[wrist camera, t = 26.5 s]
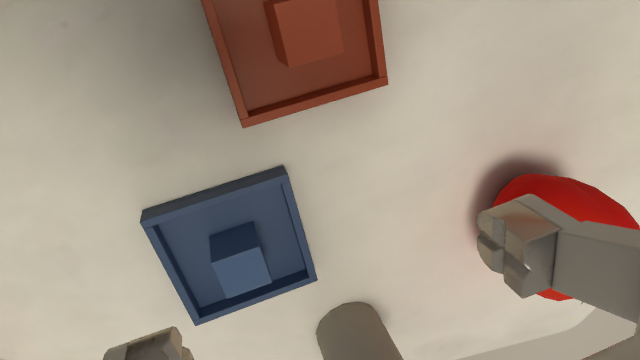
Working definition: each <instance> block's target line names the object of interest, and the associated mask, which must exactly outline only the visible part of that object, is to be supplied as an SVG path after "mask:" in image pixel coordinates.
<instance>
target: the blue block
mask: <svg viewBox="0 0 640 360" xmlns="http://www.w3.org/2000/svg"><path fill="white" fill-rule="evenodd" d="M209 243H210V258H211V265H212V267H213V269H214V272H215V274H216V276H217V278H218V281H219V283H220V285H221V287H222V289H223V292H224V294H225V296H226V298H227V299H228V298H231V297H234V296H237V295H239V294H242V293H245V292H247V291H250V290H253V289H256V288H258V287H261V286H264V285H266V284H269V283H272V279H271V275H270V271H269V268H268V264H267V260H266V257H265V254H264V251H263V248H262V245H261V242H260V240H259V237H258V234H257V231H256V228H255V226H254V223H253V222H249V223H246V224H244V225H241V226H238V227H235V228H232V229H229V230H226V231H223V232H220V233H217V234H214V235H211V236H209Z"/></svg>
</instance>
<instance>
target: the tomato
mask: <svg viewBox="0 0 640 360" xmlns="http://www.w3.org/2000/svg"><path fill="white" fill-rule="evenodd" d="M526 194H533V195H536V196H537V197H539V198H541V199H542V200H544V201H546V202H547V203H549V204H551V205H552V206H554V207H556V208H557V209H559V210H561V211H562V212H564V213H566V214H568V215H569V216H571V217H573V218H574V219H576V220H578V221H579V222H583V221H591V222H597V223H602V224H608V225H613V226H618V227H624V228H629V229H635V230H640V227H639V225H638V223H637V222H636V221H635V220H634V218H633V217H632V216H631V215H630V213H629V212H628V211H627V210H626V209H625V207H624V206H622V205H621V204H619V203H618V202H616V201H615V200H613V199H612V198H610V197H609V196H607V195H606V194H604V193H603V192H601V191H600V190H598V189H597V188H595V187H593V186H590V185H587V184H585V183H582V182H579V181H577V180H574V179H572V178H566V177H558V176H550V175H542V174H524V175H522V176H519V177H517V178H514V179H513V180H512V181H511V182H510V183H508V184H507V185H506V186H505V187H504V188H503V189H502V190H501V191H500V193H499V195H498V196H497V198H496V200H495V202H494V204H493V206H492V208H493V207H496V206H498V205H501V204H504V203H506V202H509V201H511V200H513V199H516V198H518V197H521V196H523V195H526ZM536 294H538V295H540V296H542V297H544V298H548V299H552V300H556V301H562V300H567V299H573V298H572V297H570V296H567V295H565V294H562V293H560V292H557V291H555V290H552V288H549V289H547V290H544V291H541V292H539V293H536ZM582 303H583V302H582Z"/></svg>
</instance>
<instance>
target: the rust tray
mask: <svg viewBox="0 0 640 360" xmlns="http://www.w3.org/2000/svg"><path fill="white" fill-rule="evenodd" d="M267 1H271V0H201V3H202V6H203V9H204V12H205V15H206V18H207V21H208V24H209V27H210V30H211V33H212V36H213V39H214V42H215V45H216V49H217V52H218V55H219V58H220V61H221V64H222V67H223V70H224V73H225V76H226V79H227V82H228V85H229V88H230V91H231V94H232V97H233V100H234V104H235V107H236V110H237V113H238V116H239V119H240V122H241V125H242V127H243V128H246V127H249V126H253V125H256V124H259V123H263V122H266V121H269V120H273V119H276V118H279V117H283V116H286V115H289V114H292V113H296V112H299V111H302V110H306V109H309V108H312V107H316V106H319V105H322V104H326V103H329V102H332V101H336V100H339V99H342V98H346V97H349V96H352V95H355V94H359V93H362V92H365V91H369V90H372V89H375V88H379V87H382V86H385V85H388V77H387V70H386V62H385V54H384V46H383V38H382V30H381V22H380V14H379V6H378V0H336V6H337V12H338V17H339V23H340V29H341V35H342V41H343V46H344V53H341V54H338V55H334V56H330V57H327V58H323V59H320V60H316V61H313V62H309V63H306V64H302V65H299V66H295V67H291V68H289V67H287V66H286V65H285V64H284V63H282V62H281V61H280V60H279V59H278V58H277V54H276V50H275V46H274V42H273V38H272V34H271V30H270V26H269V22H268V19H267V15H266V11H265V7H264V2H267Z"/></svg>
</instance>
